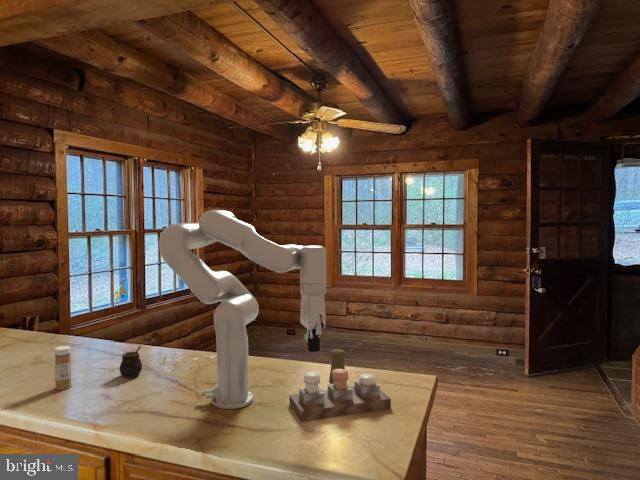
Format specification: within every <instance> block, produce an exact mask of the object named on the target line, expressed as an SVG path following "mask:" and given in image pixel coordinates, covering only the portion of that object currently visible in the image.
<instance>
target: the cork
mask: <svg viewBox="0 0 640 480" xmlns="http://www.w3.org/2000/svg"><path fill="white" fill-rule="evenodd" d="M330 359H331V364H330V372H329V379H328V381H329V384H334V380H333V379H332V371H333V370H334V369H345V370H346V368H345V359H346V351H345V350H343V349H341V348H337V349H336V348H334V349H332V350H331V351H330Z"/></svg>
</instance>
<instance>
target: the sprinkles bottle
mask: <svg viewBox="0 0 640 480" xmlns="http://www.w3.org/2000/svg"><path fill="white" fill-rule="evenodd" d="M53 352H54V358H55V359H54V360H55V361H54V362H55V363H54V365H55V366H54V368H55V371H54V372H55V373H54V374H55V375H54V376H55V389H56V390H57V391H64V390H68V389H70V388H71V387H72V378H71V377H72V367H71V365H72V363H71V353H72V349H71V346H70V345H61V346H57V347H55V348H54V350H53Z"/></svg>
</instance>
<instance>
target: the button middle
mask: <svg viewBox="0 0 640 480" xmlns="http://www.w3.org/2000/svg"><path fill="white" fill-rule="evenodd" d="M332 379H333V380H334V387H335V388H336V389H337V390H341V389H347V384H348V380H349V371H348V370H347V369H346V368H345V369H334V370H333V371H332Z"/></svg>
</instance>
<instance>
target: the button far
mask: <svg viewBox="0 0 640 480" xmlns="http://www.w3.org/2000/svg"><path fill="white" fill-rule="evenodd" d="M358 381H359V383H360V384H361V385H363V386H373V385H375V382H376V376H375V375H374V374H370V373H361V374H360V375H359V379H358Z"/></svg>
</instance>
